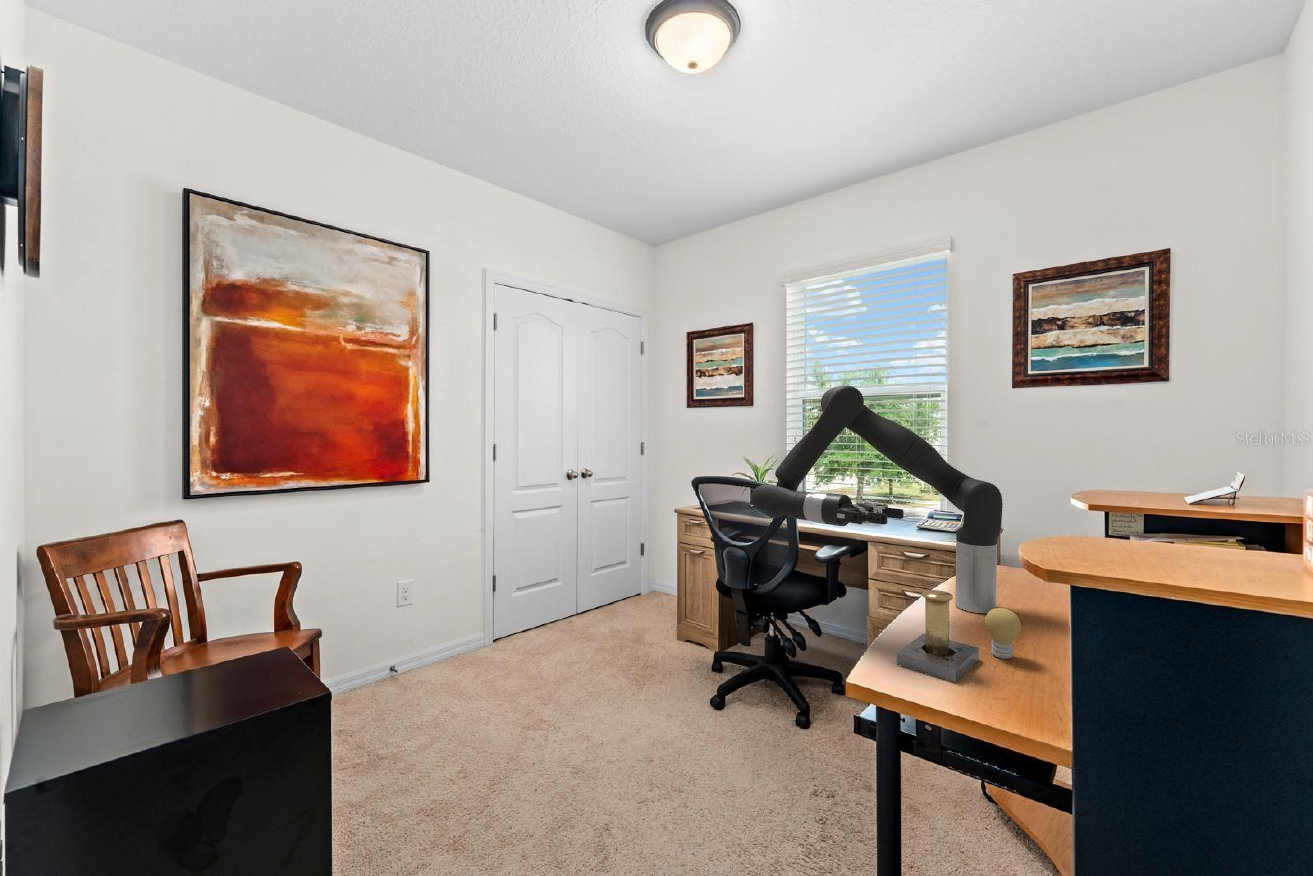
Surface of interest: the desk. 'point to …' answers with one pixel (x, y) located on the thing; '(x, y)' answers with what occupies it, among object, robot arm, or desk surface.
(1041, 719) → the desk surface
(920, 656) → the jig
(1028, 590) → the desk surface
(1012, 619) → the light bulb
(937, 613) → the rivet
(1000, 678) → the desk surface
